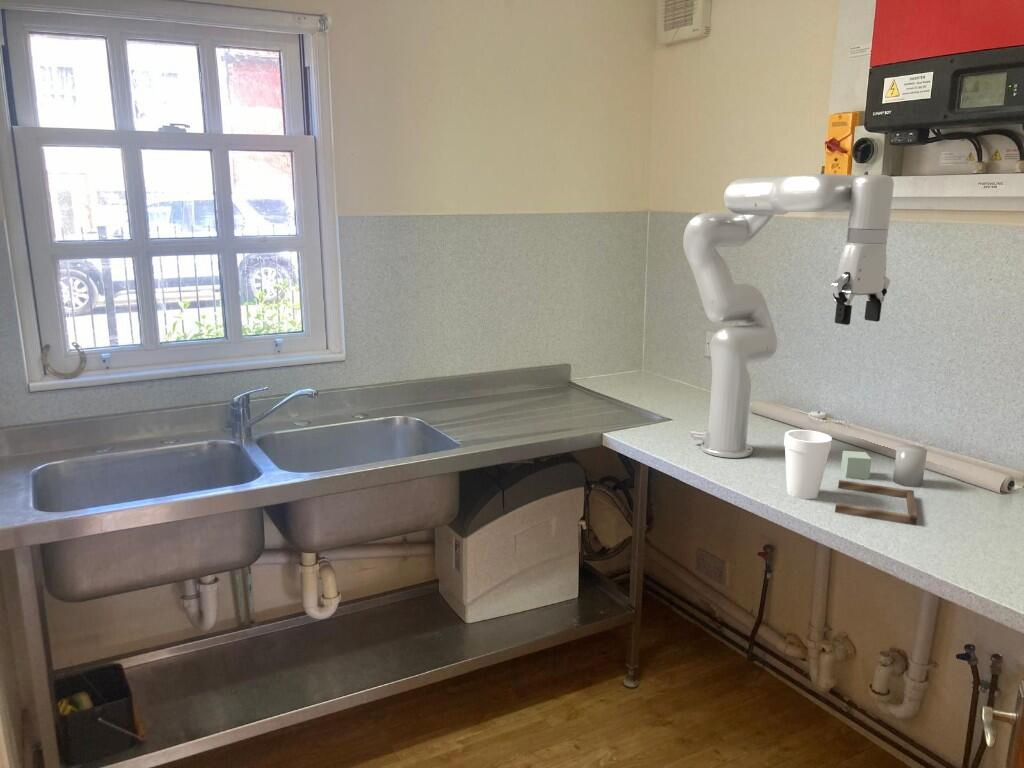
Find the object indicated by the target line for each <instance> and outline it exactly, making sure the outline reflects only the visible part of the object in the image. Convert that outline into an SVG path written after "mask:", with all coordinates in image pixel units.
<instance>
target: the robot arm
mask: <svg viewBox="0 0 1024 768" xmlns="http://www.w3.org/2000/svg"><path fill="white" fill-rule="evenodd" d="M894 184H895V181H894V179H893V177H891V176H890V175H886V174H862V175H854V174H852V175H851V174H836V173H835V174H833V173H816V174H815V173H814V174H813V173H812V174H799V175H773V176H771V175H770V176H757V177H756V176H755V177H743V178H738V179H735V180H733V181H732V182H731V183H730V184H728V185H727V187H726V189H725V190H724V194H723V202H724V204H725V207H726V208H727V210H729V211H730V212H726V211H725V212H721V211H719V212H718V211H717V212H716V211H715V212H710V211H709V212H704V213H700V214H697V215H695V216H694V217H692V218H691V219H690V220H689V222H688V223H687V224H686V227H685V229H684V233H683V238H682V244H683V245H682V246H683V252H684V255H685V257H686V260H687V262H688V264H689V267H690V269H691V271H692V273H693V276H694V279H695V282H696V286H697V289H698V293H699V296H700V300H701V302H702V306H703V309H704V313H705V315H706V317H707V318H708V320H709V321H710V322H712V323H715V324H730V323H731V324H732V323H738V325H733V326H728V327H727V326H726V327H724V328H721V329H719V330H718V331H716V332H715V333H714V334H713V336H712V338H711V339H710V342H709V354H710V361H711V386H710V400H709V401H710V403H709V412H708V413H709V415H708V416H709V417H708V429H707V430H703V431H699V430H695V429H692V430H691V431H690V438H693V439H692V440H696V441H701V443H700V449H701V451H703V452H704V453H706V454H709V455H711V456H714V457H720V458H727V459H728V458H729V459H730V458H731V459H739V458H745V457H749V456H751V455H752V454H753V447H752V446H751V445H750V444H748V443H747V440H748V429H749V428H748V427H749V416H750V404H751V394H752V379H751V376H750V372H749V370H748V367H747V365H749V364H755V363H761V362H765V361H768V360H770V359H771V358H772V357H774V356H775V354H776V352H777V350H778V336H777V333H776V329H775V327H774V323H773V320H772V316H771V315H770V314H771V313H770V310H769V308H768V304H767V301H766V298H765V297H764V294H763V293H762V292H761V290H760V289H759V288H758V287H756V286H755V285H753V284H749V283H735V282H734V280H733V277H732V274H731V271H730V267H729V265H728V263H727V262H726V260H725V259H724V257H723V256H722V255H721V254H720V253H719V252H718V251H717V248H736V247H737V248H739V247H741V246H742V247H743V246H744V245H746V244H749V243H750V242H751V241H752V240H753V239H754V238H755V237H756V236H757V235H758V234H759V233H760V231H761V230H763V228H764V227H766V225H767V224H768V223H769V221H771V219H772V218H773V217H774V216H775V215H776V216H779V215H780V216H781V215H784V216H785V215H786V214H788V213H803V212H804V213H806V212H807V213H825V212H829V213H832V212H833V213H849V215H848V223H847V233H846V241H845V242H846V243H845V244H844V245H843V248H842V252H841V256H840V259H839V263H838V269H837V275H836V280H835V281H834V282H832V284H831V289H832V292H833V293H832V296H833V298H834V303H835V304H836V308H835V314H834V315H835V316H834V323H835V324H839V325H844V326H849V325H850V323H851V318H852V309H853V305H852V304H851V303H852V301H853V300H854V298H855V297H856V296H867V299H868V300H866V303H865V312H864V320H865V321H870V322H876V323H877V322H880V320H881V315H882V314H881V313H882V307H883V306H882V304H883V302H884V301H885V297H886V295H887V292H888V288H889V286H890V283H891V280H890V279H889V278H888V277H887V276H886V274H887V273H886V271H887V245H888V236H889V228H890V227H889V226H890V219H891V210H892V204H893V203H892V202H893V194H894V188H895V185H894ZM846 296H847V297H846Z"/></svg>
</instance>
